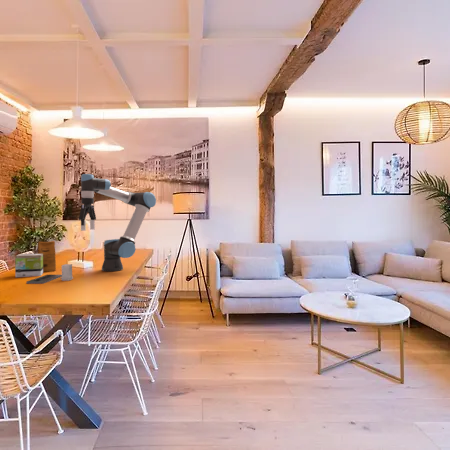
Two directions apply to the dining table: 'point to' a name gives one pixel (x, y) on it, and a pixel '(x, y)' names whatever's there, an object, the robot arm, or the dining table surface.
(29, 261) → the tea box
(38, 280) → the grey flat frame
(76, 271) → the dining table surface
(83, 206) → the robot arm
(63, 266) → the block with top tab
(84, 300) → the dining table surface
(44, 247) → the coffee package
